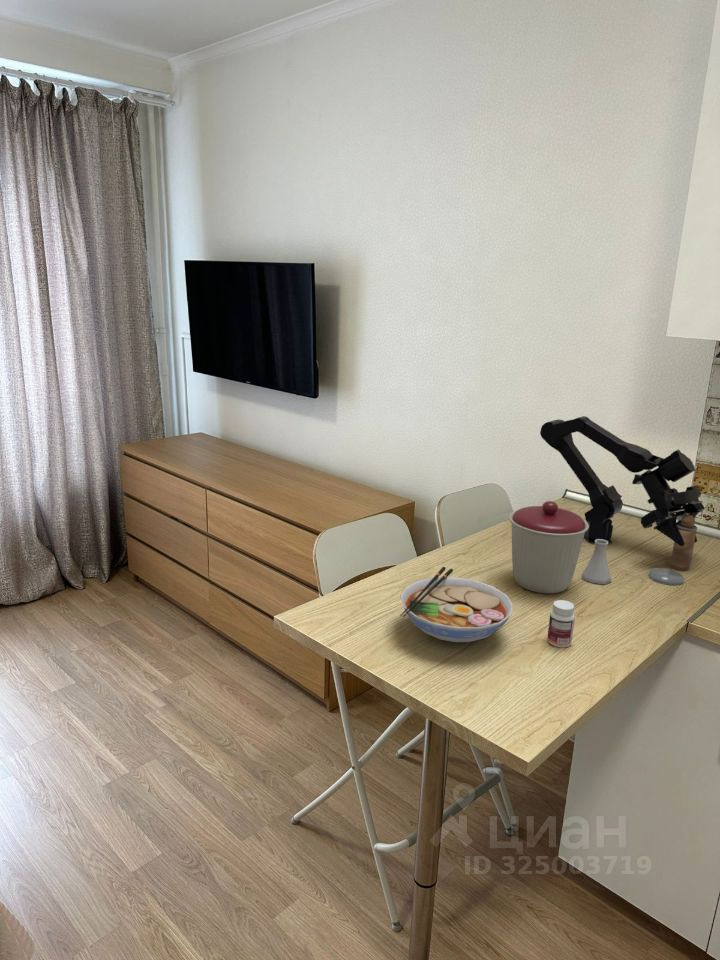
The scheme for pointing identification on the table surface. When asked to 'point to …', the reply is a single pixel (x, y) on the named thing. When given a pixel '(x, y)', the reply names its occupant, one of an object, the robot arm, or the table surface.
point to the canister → (545, 546)
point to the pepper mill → (684, 553)
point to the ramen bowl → (455, 607)
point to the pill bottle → (561, 624)
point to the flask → (598, 565)
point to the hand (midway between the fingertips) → (689, 544)
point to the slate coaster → (666, 576)
